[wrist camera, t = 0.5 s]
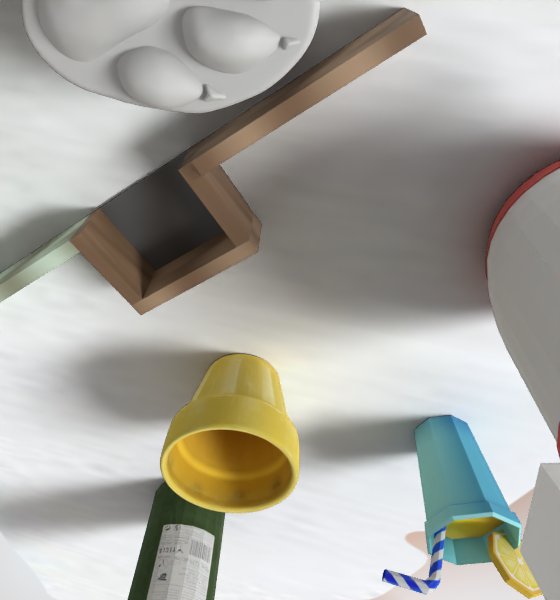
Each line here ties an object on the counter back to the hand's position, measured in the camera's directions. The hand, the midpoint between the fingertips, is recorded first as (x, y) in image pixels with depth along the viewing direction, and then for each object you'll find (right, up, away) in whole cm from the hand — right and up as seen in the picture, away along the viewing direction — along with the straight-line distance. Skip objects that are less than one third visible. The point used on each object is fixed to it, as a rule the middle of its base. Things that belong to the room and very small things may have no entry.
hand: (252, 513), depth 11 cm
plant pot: (-3, -2, +33) cm, 33 cm away
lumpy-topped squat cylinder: (-4, +23, +15) cm, 28 cm away
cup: (+15, -8, +36) cm, 40 cm away
